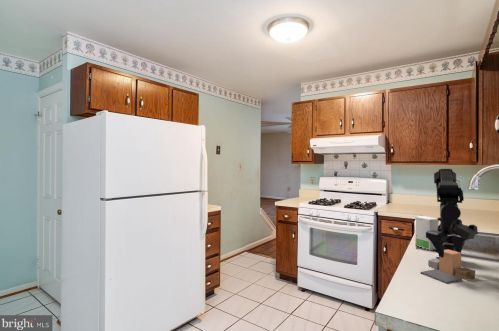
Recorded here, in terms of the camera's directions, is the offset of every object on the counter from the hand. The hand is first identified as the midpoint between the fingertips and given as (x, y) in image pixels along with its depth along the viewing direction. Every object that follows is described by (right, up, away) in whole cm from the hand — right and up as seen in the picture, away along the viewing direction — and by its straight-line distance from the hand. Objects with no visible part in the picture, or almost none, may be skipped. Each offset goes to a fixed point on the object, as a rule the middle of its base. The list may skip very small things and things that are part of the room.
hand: (450, 255), depth 105 cm
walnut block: (+2, -6, -5) cm, 9 cm away
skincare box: (+12, -7, +32) cm, 35 cm away
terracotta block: (0, -6, 0) cm, 6 cm away
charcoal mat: (-7, -6, -5) cm, 10 cm away
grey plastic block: (-2, -7, +5) cm, 8 cm away
